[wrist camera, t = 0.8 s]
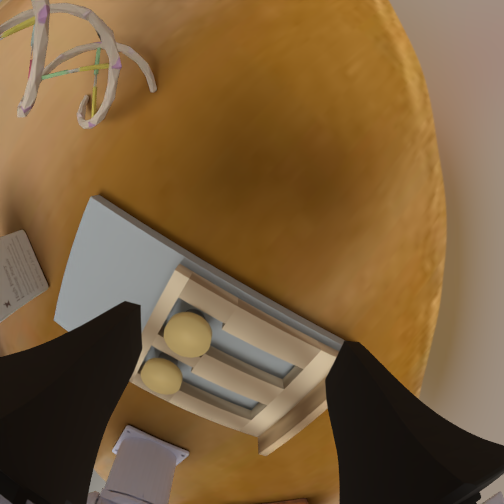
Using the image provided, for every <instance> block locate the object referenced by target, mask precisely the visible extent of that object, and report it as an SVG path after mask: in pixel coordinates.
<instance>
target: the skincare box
mask: <svg viewBox="0 0 504 504" xmlns="http://www.w3.org/2000/svg"><path fill="white" fill-rule="evenodd" d="M48 288H49V287H48V284H47V281H46V279H45V277H44V275H43V273H42V270H41V268H40V266H39V263H38V261H37V259H36V256H35V254H34V252H33V249H32V247H31V245H30V242H29V240H28V237H27V235H26V233H25V232H24V230H19V231H16V232H13V233H11V234H8V235H5V236H2V237H0V322H2V321H3V320H4V319H6V318H7V317H8V316H10V315H11V314H12V313H14V312H15V311H16V310H18V309H19V308H20V307H22V306H23V305H25V304H26V303H28V302H29V301H30V300H32V299H33V298H35V297H37V296H38V295H40V294H41V293H43V292H44V291H46V290H47V289H48Z"/></svg>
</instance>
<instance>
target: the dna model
mask: <svg viewBox="0 0 504 504" xmlns="http://www.w3.org/2000/svg"><path fill="white" fill-rule="evenodd" d="M31 1H32V6H33V9H31V10H27V11H24V12H21V13H20V14H18V15H16V16H14V17H13V18H11V19H10V20H8V21H6V22H5V23H3V24H2V25H0V34H2V33H3V32H4V31H5V32H4V33H3V34H2V35H0V38H1V36H2V37H3V38H5V37H7V36H9V35H11V34H13V33H15V32H18V31H20V30H22V29H24V28H27V27H29V26H32V25H34V27H33V33H32V39H31V46H32V50H31V56H32V51H33V60H30V67H29V76H28V83H27V87H26V90H25V94H24V96H23V98H22V100H21V101H20V103H19V105H18V110H17V117H26V116H27V115H28V113H29V112H30V110H31V109H32V107H33V105H34V103H35V100H36V96H37V92H38V88H39V84H40V82H41V81H42V80H44V79H48V78H52V77H56V76H60V75H65V74H68V73H74V72H80V71H88V70H94V75H95V80H94V87H93V95H92V115H91V119H90V120H85V112H86V105H87V102H88V100H89V96H88V95H85V96H84V98H83V100H82V102H81V103H80V107H79V110H78V112H77V118H78V123H79V125H80V126H81V127H82V128H84V129H92V128H93V127H94V126H96V125H97V124H98V123H100V122H101V121H102V120H104V118H105V116H106V114H107V112H108V110H109V108H110V106H111V104H112V102H113V101H114V99H115V94H116V88H117V82H118V77H119V72H120V69H121V67H122V66H121V61H120V57H119V53H118V52H122V53H123V54H125V55H126V56H128V57H129V58H130V59H132V60H133V61H134V62H136V63H137V64H138V65H139V67H140V68H141V70H142V72H143V73H144V75H145V76H146V79H147V82H148V85H149V88H150V92H155V91H156V90H157V87H156V83H155V79H154V75H153V73H152V71H151V69H150V67H149V65H148V63H147V62H146V61H145V60H144V59H143V58H142V57H141V56H140V55H139V54H138V53H137V52H135V51H134V50H133V49H132V48H131V47H130V46H126V45H123V44H120V43H117V42H116V41H115V37H114V33H113V31H112V30H111V29H110V28H109V27H108V26H107V25H106V24H105V23H104V22H103V20H102V19H100V18H99V17H98V16H97V15H96V14H95V13H94V12H93V11H92V10H90V9H88V8H86V7H83V6H78V5H74V4H69V3H57V4H49V0H31ZM58 12H61V13H69V14H72V15H74V16H77V17H80V18H82V19H85V20H87V21H89V22H90V23H91V25H92V26H93V27H94V28H95V29H96V32H97V34H98V36H99V38H100V40H101V42H95V43H90V44H86V45H81V46H77V47H75V48H72V49H70V50H68V51H66V52H64V53H62V54H60V55H59V56H58V57H57V58H56V59H55V60H53V61H52V62H51V63H50V64H49V65H47V66H46V67H45V68H44V63H45V56H46V50H47V44H48V33H49V16H50V13H58ZM10 28H11V29H10ZM8 29H9V30H8ZM6 30H7V31H6ZM3 38H1V39H3ZM1 39H0V40H1ZM95 49H97V53H96V60H95V65H91V66H85V67H80V68H77V69H73V70H64V71H60V72H56V73H52V74H49V73H50V72H51V71H52V70H53V69H54V68H56V67H57V66H58V65H59V64H61V63H62V62H64V61H66V60H68V59H70V58H72V57H74V56H77V55H79V54H81V53H83V52H86V51H90V50H95ZM101 49H105V50H106V52H107V54H108V56H109V63H106V64H99V59H100V50H101ZM106 68H109V72H108V85H107V89H106V93H105V97H104V101H103V103H102V104H101V106H100V108H99V110H98V112H97V113H96V95H97V87H96V83H97V74H98V70H99V69H106Z"/></svg>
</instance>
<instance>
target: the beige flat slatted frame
mask: <svg viewBox="0 0 504 504" xmlns="http://www.w3.org/2000/svg"><path fill="white" fill-rule="evenodd" d="M178 297H179V298H180V299H182V300H184V301H186V302H187V303H189V304H191V305H192V306H194V307H196V308H198V309H199V310H201V311H203V312H205V313H207V314H208V315H210V316H212V317H214V318H216V319H217V320H219V321H221V322H223V323H222V330H224V331H226V332H228V333H229V334H231V335H233V336H235V337H237V338H239V339H241V340H243V341H245V342H247V343H249V344H251V345H253V346H255V347H257V348H259V349H261V350H263V351H265V352H267V353H269V354H272V355H274V356H276V357H278V358H280V359H282V360H284V361H286V362H289V363H291V364H293V365H295V367H294V368H293V369H292V370H291V371H290V372H289V373H288V374H287V375H286V376H285V377H284V378H283V379H281V378H278V377H276V376H274V375H271V374H269V373H267V372H265V371H262V370H260V369H258V368H256V367H254V366H251V365H249V364H247V363H245V362H243V361H241V360H239V359H237V358H234V357H232V356H230V355H228V354H226V353H224V352H222V351H220V350H218V349H216V348H214V347H212V346H211V345H210V347H209V349H208V351H207V352H206V353H205V354H203V355H201V356H199V357H193V358H189V357H183V356H180V355H178V354H176V353H175V352H173V351H172V350H171V349H170V348H169V347H168V346H167V344H166V342H165V340H164V329H165V327H164V326H163V324H164V322H165V320H166V318H167V316H168V315H169V313H170V311H171V309H172V307H173V306H174V304H175V302H176V300H177V299H178ZM151 345H152V346H153V347H155V348H157V349H159V350H161V351H162V352H164V353H166V354H168V355H170V356H171V357H173V358H175V359H177V360H179V361H181V362H183V363H185V364H187V365H189V366H191V367H192V369H191V372H192V373H194V374H196V375H198V376H200V377H202V378H204V379H206V380H208V381H210V382H212V383H215V384H217V385H219V386H221V387H223V388H226V389H228V390H230V391H233V392H235V393H237V394H240V395H242V396H245V397H247V398H250V399H252V400H255V401H257V402H259V403H258V404H257V405H256V406H255V407H254V408H253V409H252V410H249V409H246V408H244V407H241V406H238V405H236V404H233V403H231V402H229V401H226V400H224V399H221V398H219V397H217V396H214V395H212V394H210V393H208V392H205V391H203V390H201V389H199V388H197V387H195V386H193V385H190V384H188V383H186V382H184V381H182V383H181V386H180V389H179V390H178V391H177V392H176V393H174V394H169V395H165V394H160V393H157V392H154V391H152V390H151V389H149V388H148V387H147V386H146V385H145V384H144V383H143V381H142V379H141V371H142V369H143V366H144V365H143V364H142V362H143V360H144V358H145V357H146V355H147V353H148V351H149V349H150V347H151ZM338 353H339V351H337V350H335V349H333V348H331V347H329V346H327V345H325V344H323V343H321V342H319V341H317V340H315V339H314V338H312V337H310V336H308V335H306V334H304V333H302V332H300V331H298V330H296V329H294V328H292V327H291V326H289V325H287V324H285V323H283V322H281V321H279V320H277V319H276V318H274V317H272V316H270V315H268V314H266V313H265V312H263V311H261V310H259V309H257V308H255V307H254V306H252V305H250V304H248V303H246V302H245V301H243V300H241V299H239V298H238V297H236V296H234V295H232V294H231V293H229V292H227V291H225V290H224V289H222V288H220V287H218V286H217V285H215V284H213V283H212V282H210V281H208V280H206V279H205V278H203V277H201V276H200V275H198V274H196V273H195V272H193V271H191V270H190V269H188V268H186V267H185V266H183V265H181V264H179V265H178V266H177V268H176V269H175V271H174V272H173V274H172V276H171V278H170V280H169V282H168V283H167V285H166V287H165V289H164V291H163V293H162V295H161V297H160V298H159V300H158V302H157V304H156V306H155V308H154V310H153V312H152V314H151V316H150V318H149V320H148V322H147V324H146V326H145V328H144V330H143V332H142V351H141V354H140V357H139V360H138V362H137V365H136V367H135V370H134V372H133V374H132V376H131V378H130V380H129V381H130V382H131V383H133V384H135V385H137V386H139V387H140V388H142V389H144V390H146V391H148V392H150V393H152V394H154V395H155V396H157V397H159V398H161V399H163V400H165V401H168V402H170V403H172V404H174V405H176V406H178V407H180V408H182V409H185V410H187V411H189V412H191V413H194V414H196V415H198V416H201V417H203V418H206V419H208V420H211V421H213V422H216V423H218V424H221V425H224V426H226V427H229V428H232V429H235V430H238V431H240V432H243V433H246V434H249V435H253V436H256V437H258V451H259V454H261V455H264V456H267V455H268V454H270V453H271V452H273V451H274V450H276V449H277V448H278V447H280V446H281V445H283V444H284V443H285V442H287V441H288V440H289V439H291V438H292V437H293V436H295V435H296V434H297V433H298V432H300V431H301V430H302V429H303V428H305V427H306V426H307V425H308V424H310V423H311V422H312V421H313V420H314V419H316V418H317V417H318V416H319V415H320V414H321V413H323V412H324V411H325V410H326V409H327V408H328V407H327V400H326V387H325V379H326V377H327V375H328V373H329V371H330V369H331V367H332V365H333V363H334V361H335V359H336V357H337V355H338Z"/></svg>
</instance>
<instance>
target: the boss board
mask: <svg viewBox="0 0 504 504" xmlns="http://www.w3.org/2000/svg"><path fill="white" fill-rule="evenodd" d="M179 264H181V265H183V266H185V267H186V268H188V269H190V270H191V271H193V272H195V273H196V274H198V275H200V276H201V277H203V278H205V279H206V280H208V281H210V282H212V283H213V284H215V285H217V286H218V287H220V288H222V289H224V290H225V291H227V292H229V293H231V294H232V295H234V296H236V297H238V298H239V299H241V300H243V301H245V302H246V303H248V304H250V305H252V306H254V307H255V308H257V309H259V310H261V311H263V312H265V313H266V314H268V315H270V316H272V317H274V318H276V319H277V320H279V321H281V322H283V323H285V324H287V325H289V326H291V327H292V328H294V329H296V330H298V331H300V332H302V333H304V334H306V335H308V336H310V337H312V338H314V339H315V340H317V341H319V342H321V343H323V344H325V345H327V346H329V347H331V348H333V349H335V350H337V351H340V349H341V347H342V345H343V342H344V341H345V340H343V339H341V338H339V337H338V336H336V335H334V334H332V333H330V332H328V331H326V330H325V329H323V328H321V327H319V326H317V325H315V324H314V323H312V322H310V321H308V320H306V319H304V318H303V317H301V316H299V315H297V314H295V313H294V312H292V311H290V310H288V309H286V308H285V307H283V306H281V305H279V304H278V303H276V302H274V301H272V300H270V299H269V298H267V297H265V296H263V295H262V294H260V293H258V292H256V291H255V290H253V289H251V288H249V287H248V286H246V285H244V284H243V283H241V282H239V281H237V280H236V279H234V278H232V277H231V276H229V275H227V274H225V273H224V272H222V271H220V270H219V269H217V268H215V267H214V266H212V265H210V264H209V263H207V262H205V261H204V260H202V259H200V258H199V257H197V256H195V255H194V254H192V253H190V252H189V251H187V250H185V249H184V248H182V247H181V246H179V245H177V244H176V243H174V242H172V241H171V240H169V239H168V238H166V237H164V236H163V235H161V234H159V233H158V232H156V231H155V230H153V229H151V228H150V227H148V226H147V225H145V224H144V223H142V222H140V221H139V220H137V219H136V218H134V217H132V216H131V215H129V214H128V213H126V212H125V211H123V210H122V209H120V208H118V207H117V206H115V205H114V204H112V203H111V202H109V201H108V200H106V199H105V198H103V197H102V196H100V195H96V196H91V197H90V199H89V202H88V204H87V207H86V209H85V212H84V214H83V217H82V220H81V223H80V225H79V228H78V231H77V234H76V237H75V240H74V243H73V246H72V249H71V252H70V256H69V259H68V263H67V266H66V270H65V273H64V277H63V281H62V285H61V289H60V293H59V298H58V302H57V307H56V312H55V317H54V321H55V322H57V323H58V324H59V325H60V326H62V327H63V328H64V329H66V330H67V331H68V332H69V331H71V330H73V329H75V328H77V327H79V326H81V325H83V324H85V323H87V322H88V321H90V320H92V319H94V318H95V317H97V316H99V315H101V314H102V313H104V312H106V311H108V310H109V309H111V308H113V307H115V306H116V305H118V304H120V303H122V302H124V301H127V302H131V303H135V304H139V305H141V331H142V332H143V330H144V328H145V326H146V324H147V322H148V320H149V318H150V316H151V314H152V312H153V310H154V308H155V306H156V304H157V302H158V300H159V298H160V297H161V295H162V293H163V291H164V289H165V287H166V285H167V283H168V282H169V280H170V278H171V276H172V274H173V272H174V271H175V269H176V268H177V266H178V265H179ZM222 323H223V322H221V321H219V320H217V319H216V318H214V317H212V316H210V315H208V314H207V313H205V312H203V311H201V310H199V309H198V308H196V307H194V306H192V305H191V304H189V303H187V302H186V301H184V300H182V299H180V298H179V297H178V299H177V300H176V302H175V304H174V306H173V307H172V309H171V311H170V313H169V315H168V316H167V318H166V320H165V322H164V324H163V326H164V327H165V329H164V340H165V342H166V344H167V346H168V347H169V348H170V349H171V350H172V351H173V352H175V353H176V354H178V355H180V356H183V357H189V358H193V357H199V356H201V355H203V354H205V353H206V352H207V351H208V349H209V347H210V345H211V346H212V347H214V348H216V349H218V350H220V351H222V352H224V353H226V354H228V355H230V356H232V357H234V358H237V359H239V360H241V361H243V362H245V363H247V364H249V365H251V366H254V367H256V368H258V369H260V370H262V371H265V372H267V373H269V374H271V375H274V376H276V377H278V378H281V379H283V378H284V377H285V376H286V375H287V374H288V373H289V372H290V371H291V370H292V369H293V368H294V367H295V365H293V364H291V363H289V362H286V361H284V360H282V359H280V358H278V357H276V356H274V355H272V354H269V353H267V352H265V351H263V350H261V349H259V348H257V347H255V346H253V345H251V344H249V343H247V342H245V341H243V340H241V339H239V338H237V337H235V336H233V335H231V334H229V333H228V332H226V331H224V330H222ZM142 364H143V365H144V366H143V369H142V371H141V379H142V381H143V383H144V384H145V385H146V386H147V387H148V388H149V389H151V390H152V391H154V392H157V393H160V394H165V395H169V394H174V393H176V392H177V391H178V390H179V389H180V386H181V383H182V381H184V382H186V383H188V384H190V385H193V386H195V387H197V388H199V389H201V390H203V391H205V392H208V393H210V394H212V395H214V396H217V397H219V398H221V399H224V400H226V401H229V402H231V403H233V404H236V405H238V406H241V407H244V408H246V409H249V410H252V409H253V408H254V407H255V406H256V405H257V404H258V403H259V402H257V401H255V400H252V399H250V398H247V397H245V396H242V395H240V394H237V393H235V392H233V391H230V390H228V389H226V388H223V387H221V386H219V385H217V384H215V383H212V382H210V381H208V380H206V379H204V378H202V377H200V376H198V375H196V374H194V373H192V372H191V369H192V367H191V366H189V365H187V364H185V363H183V362H181V361H179V360H177V359H175V358H173V357H171V356H170V355H168V354H166V353H164V352H162V351H161V350H159V349H157V348H155V347H153V346H152V345H151V347H150V349H149V351H148V353H147V355H146V357H145V358H144V360H143V362H142Z"/></svg>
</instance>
